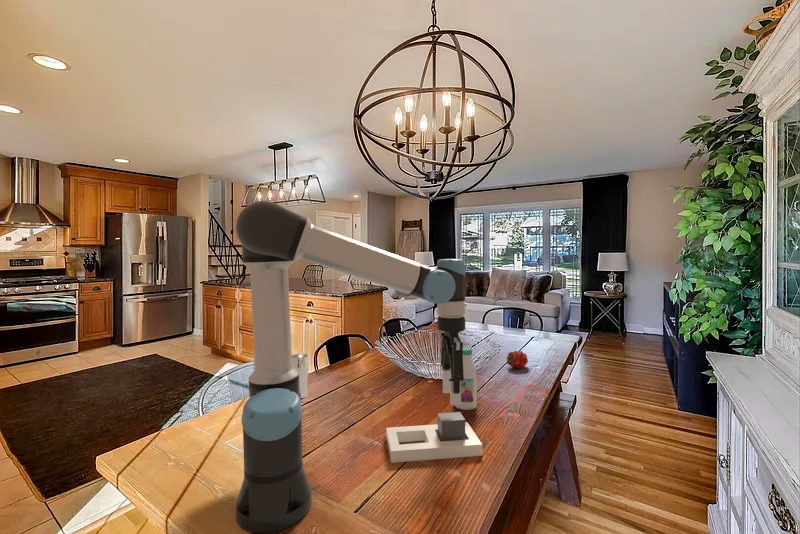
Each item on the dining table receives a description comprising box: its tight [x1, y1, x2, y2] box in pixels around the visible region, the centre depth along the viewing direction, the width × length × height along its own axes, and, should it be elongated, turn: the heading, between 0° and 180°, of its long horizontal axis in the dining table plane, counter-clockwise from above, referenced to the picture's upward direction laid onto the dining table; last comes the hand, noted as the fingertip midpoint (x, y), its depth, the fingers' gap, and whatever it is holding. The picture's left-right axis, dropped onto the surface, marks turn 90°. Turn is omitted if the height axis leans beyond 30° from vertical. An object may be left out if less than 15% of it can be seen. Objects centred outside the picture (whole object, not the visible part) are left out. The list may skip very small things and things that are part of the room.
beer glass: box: [292, 353, 310, 399], centre depth 143 cm, size 7×7×15 cm
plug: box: [437, 411, 466, 442], centre depth 106 cm, size 5×6×8 cm
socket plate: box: [385, 421, 483, 463], centre depth 106 cm, size 13×24×3 cm, turn 97°
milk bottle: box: [454, 346, 478, 411], centre depth 132 cm, size 8×8×20 cm
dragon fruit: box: [506, 350, 529, 370], centre depth 174 cm, size 8×8×12 cm
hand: (451, 398), depth 106 cm, fingers open, 8 cm apart
